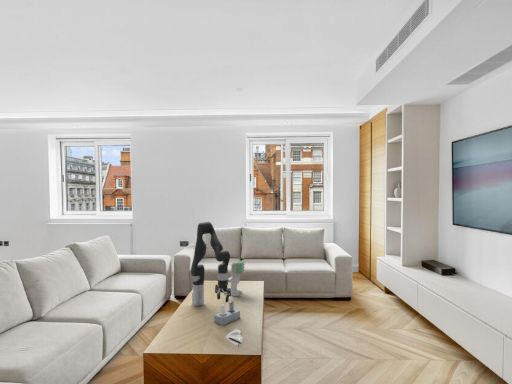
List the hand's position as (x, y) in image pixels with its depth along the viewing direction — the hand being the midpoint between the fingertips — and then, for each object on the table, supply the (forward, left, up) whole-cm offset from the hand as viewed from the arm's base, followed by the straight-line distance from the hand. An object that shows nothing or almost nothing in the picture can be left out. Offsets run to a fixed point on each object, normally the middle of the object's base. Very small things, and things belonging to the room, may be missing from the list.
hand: (222, 300), depth 234 cm
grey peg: (0, +9, -15) cm, 18 cm away
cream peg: (0, 0, -15) cm, 15 cm away
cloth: (+24, -12, -16) cm, 32 cm away
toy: (-34, +52, -16) cm, 64 cm away
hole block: (0, +4, -15) cm, 16 cm away
